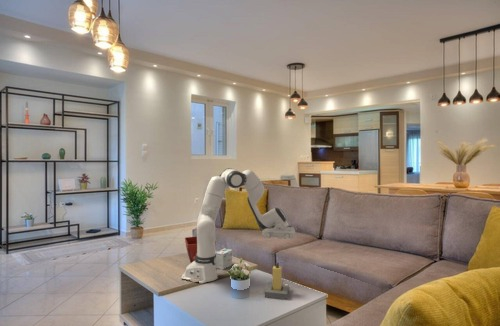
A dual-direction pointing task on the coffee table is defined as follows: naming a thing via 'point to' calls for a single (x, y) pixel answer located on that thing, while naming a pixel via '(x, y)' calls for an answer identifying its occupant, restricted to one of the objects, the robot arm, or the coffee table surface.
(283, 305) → the coffee table surface
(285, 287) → the socket
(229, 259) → the light bulb box
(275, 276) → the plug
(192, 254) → the plant pot
